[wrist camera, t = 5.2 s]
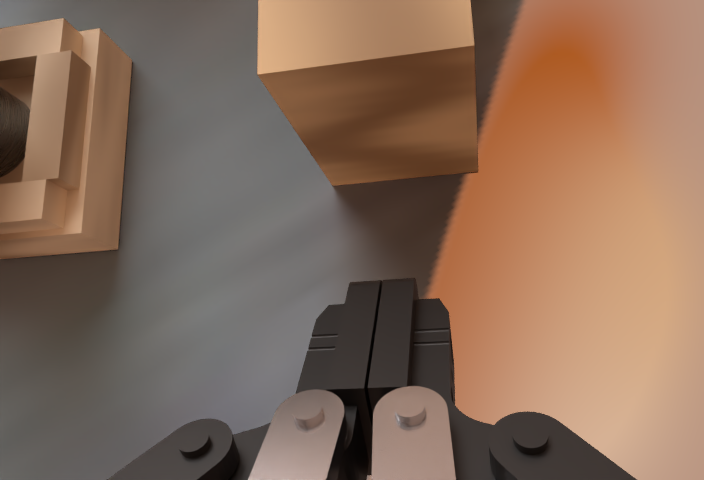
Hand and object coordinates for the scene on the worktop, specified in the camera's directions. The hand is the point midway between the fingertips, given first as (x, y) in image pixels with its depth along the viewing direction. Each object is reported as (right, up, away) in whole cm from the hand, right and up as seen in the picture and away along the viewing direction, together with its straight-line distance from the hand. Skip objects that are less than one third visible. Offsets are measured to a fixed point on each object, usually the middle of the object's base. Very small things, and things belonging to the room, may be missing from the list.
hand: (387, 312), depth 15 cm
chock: (+1, +8, +6) cm, 10 cm away
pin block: (-12, +4, +8) cm, 15 cm away
